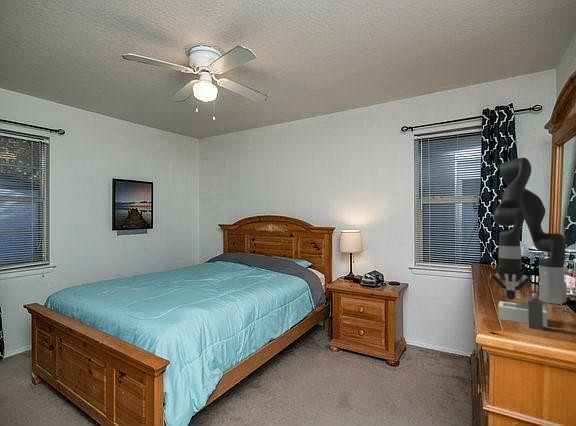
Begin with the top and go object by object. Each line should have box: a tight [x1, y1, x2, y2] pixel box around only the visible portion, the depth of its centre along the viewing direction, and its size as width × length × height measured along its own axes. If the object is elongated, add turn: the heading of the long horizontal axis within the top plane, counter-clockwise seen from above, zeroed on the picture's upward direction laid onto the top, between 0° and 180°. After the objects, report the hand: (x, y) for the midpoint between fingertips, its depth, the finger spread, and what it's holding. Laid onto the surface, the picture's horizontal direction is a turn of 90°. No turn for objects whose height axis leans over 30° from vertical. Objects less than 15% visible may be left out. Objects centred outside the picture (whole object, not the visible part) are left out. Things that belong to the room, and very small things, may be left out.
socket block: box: [498, 300, 548, 327], centre depth 123 cm, size 10×15×5 cm, turn 53°
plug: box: [527, 292, 544, 331], centre depth 114 cm, size 4×4×12 cm
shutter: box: [515, 293, 528, 309], centre depth 122 cm, size 7×7×4 cm
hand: (511, 299), depth 126 cm, fingers closed
